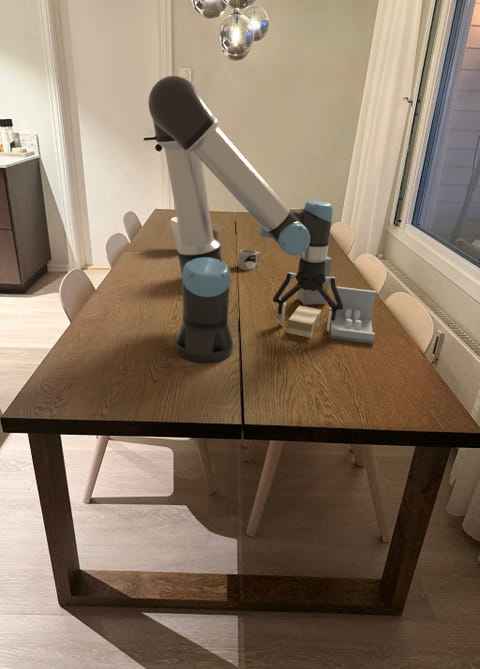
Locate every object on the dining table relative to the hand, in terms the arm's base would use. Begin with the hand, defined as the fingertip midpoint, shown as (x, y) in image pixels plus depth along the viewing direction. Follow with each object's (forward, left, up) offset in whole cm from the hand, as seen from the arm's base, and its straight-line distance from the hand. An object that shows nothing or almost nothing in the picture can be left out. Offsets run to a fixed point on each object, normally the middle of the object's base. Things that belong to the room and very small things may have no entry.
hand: (304, 326), depth 146 cm
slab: (0, 0, 0) cm, 1 cm away
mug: (+51, +25, 0) cm, 57 cm away
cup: (+62, +55, 0) cm, 83 cm away
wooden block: (+30, +38, 0) cm, 49 cm away
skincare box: (+22, -1, 0) cm, 22 cm away
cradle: (+3, -14, 0) cm, 14 cm away
